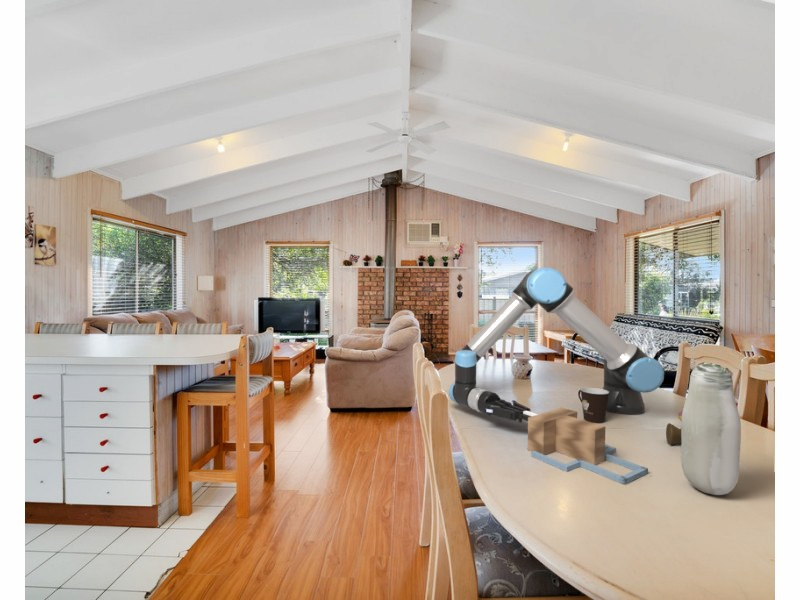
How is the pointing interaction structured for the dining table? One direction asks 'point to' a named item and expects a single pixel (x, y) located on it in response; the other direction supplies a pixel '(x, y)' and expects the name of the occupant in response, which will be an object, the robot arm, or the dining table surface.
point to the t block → (566, 436)
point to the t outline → (609, 450)
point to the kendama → (673, 434)
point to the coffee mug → (594, 404)
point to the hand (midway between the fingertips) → (542, 421)
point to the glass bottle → (711, 431)
